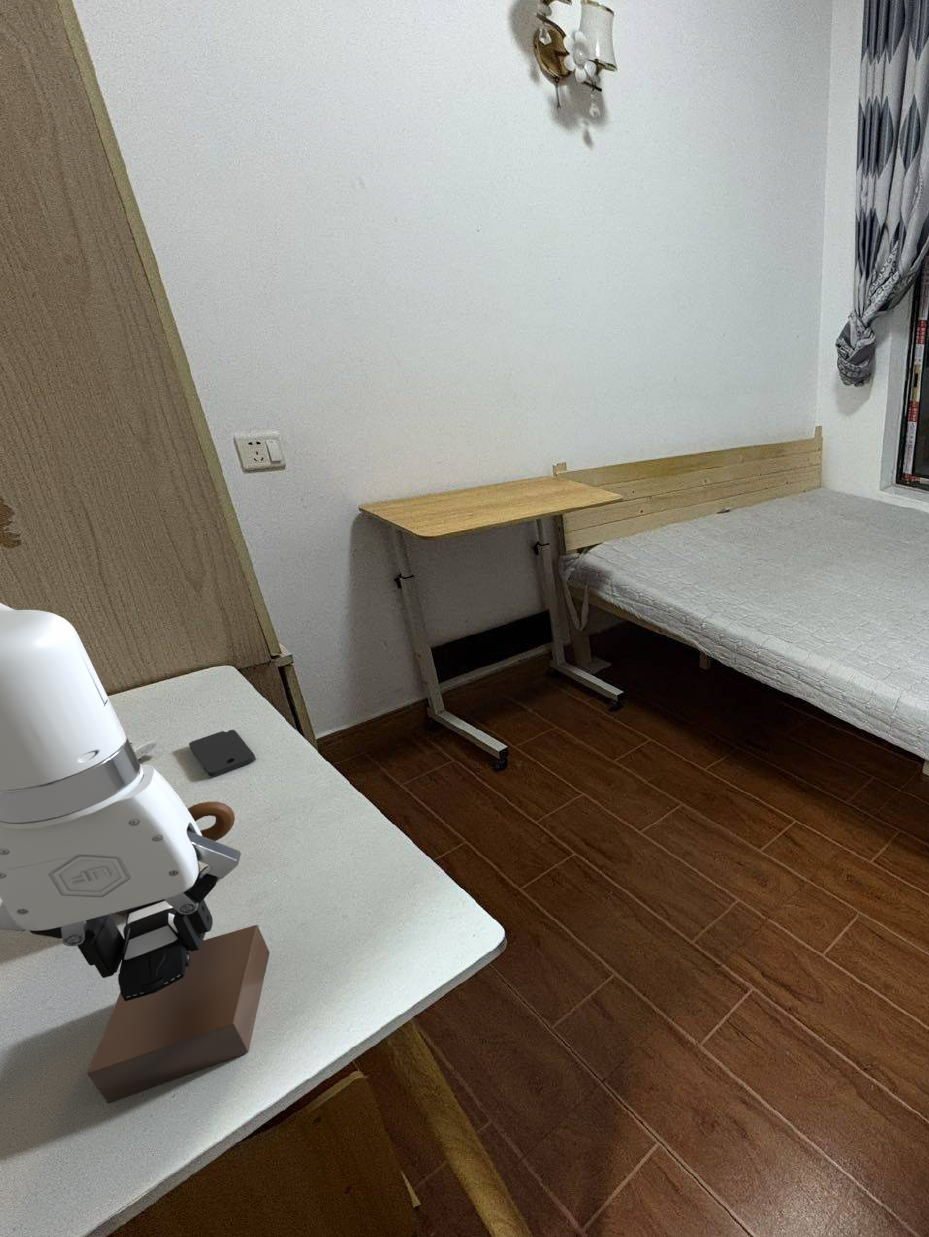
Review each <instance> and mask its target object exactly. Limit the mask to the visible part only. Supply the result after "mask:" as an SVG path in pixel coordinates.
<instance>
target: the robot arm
mask: <svg viewBox="0 0 929 1237" xmlns="http://www.w3.org/2000/svg"><path fill="white" fill-rule="evenodd" d="M115 711H116V710H115V709H114V707H113V705H112V703H111V700H110V699H109V696H108V694H107V693H106V690H105V688H104V687H103V684H102V682H101V680H100V677H99V676H98V673H97V671H96V670H95V667H94V665H93V663H92V661H91V659H90V656H89V655H88V653H87V650H86V648H85V646H84V644H83V642H82V640H81V637H80V635H79V634H78V632H77V631H76V629H75V627H74V626H73V624H71V623H70V622H69V620H67V619H66V618H64V617H62V616H60V615H59V614H55V613H53V612H51V611H50V612H49V611H45V610H40V609H39V610H38V609H15V608H12V607H10V606H8V605H6V604H3V603H2V602H0V899H1V901H2V902H1V904H0V930H1V931H15V932H25V931H29V932H30V934H32V935H37V936H42V937H49V938H55V939H61V941H62V944H63V945H64V946H67V947H76V946H77V948H78V949H79V951H80V953H81V954H82V957H83V958H84V959H85V961H86V963H87V964H88V965H89V966H90V967H91V966H95V969H96V970H97V972H98V973H99V975H100V976H101V978H102V979H105V978H109V977H112V976H114V975H115V974H116V973H118V970H119V969H120V966H121V962H122V958H117V956H118V955H121V954H123V946H124V935H122V933H121V931H120V929H119V928H118V925H117V924H116V922H115V920H114V919H113V917H112V916H111V914H116V913H115V912H119V911H123V910H126V909H130V908H134V907H138V906H141V905H145V904H149V903H152V902H156V901H160V900H163V899H164V900H165V901H166V902H167V903H168V904H169V905H170V906H172V907H173V908H174V909H175V910H176V913H175V916H174V918H173V923H174V925H175V927H176V929H177V931H178V933H179V935H180V937H181V939H182V941H183V943H184V945H185V946H186V948H187V950H188V951H191V952H193V951H196V950H200V949H201V946H202V943H203V940H205V937H206V933H209V932H211V930H212V927H213V925H214V924H213V923H214V921H213V916H212V914H211V911H210V909H209V907H208V905H207V903H206V901H205V898H206V897H207V896H208V895H209V894H210V893H211V891H212V890H213V889H214V888H215V887H216V886H217V883H218V882H220V881H221V880H223V879H224V878H225V877H227V875H229V874H230V873H231V872H232V871H234V870H235V869H236V868H237V867H238V866H239V864H240V860H241V856H242V853H241V851H240V850H238V849H236V848H232V847H231V846H229V845H226V844H223V843H220V842H218V841H213V840H210V839H208V838H206V837H203V836H202V834H201V832H200V831H201V830H200V828H199V826H198V824H197V823H196V821H194V819H193V817H192V816H191V814H190V812H189V811H188V808H187V806H186V805H185V803H184V802H183V799H181V797H180V796H179V795H178V793H177V792H176V791H175V789H174V788H173V786H171V784H170V783H169V781H167V780H166V779H165V778H164V776H162V774H160V772H159V771H158V770H156V769H155V768H154V767H153V765H152V764H141V762H140V760H139V758H138V757H137V754H136V753H135V751H134V750H135V749H134V748H133V747H132V744H131V742H130V740H129V738H128V736H127V734H126V732H125V730H124V728H123V725H122V724H121V722H120V720H119V718H118V715H117V713H116V712H115ZM198 862H201V863H203V864H205V865H207V866H205V867H203V868H202V869H200V873H199V874H198V872H199V869H198Z"/></svg>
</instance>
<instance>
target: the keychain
mask: <svg viewBox="0 0 929 1237" xmlns="http://www.w3.org/2000/svg"><path fill="white" fill-rule="evenodd" d="M188 746H189V748H190V751H191V752H192V753H193V755H194V756H195V757H196V759H197V760H198V762H199V763H200V764H201V766H202V767H203V769H204V771H205V772H206V773H207V775H208V776H209V777H211V778H212V777H217V776H219V775H223V774H225V773H228V772H231V771H234V770H236V769H238V768H241V767H243V766H246V765H249V764H251V763H253V762H256V761H257V757H256V755H255V753H254V752H253V751H252V750H251V749H250V747H249V746H248V744H246V742H245V741H244V740H243V738H242V737H241V736H240V734H238V732H237V731H236V730H235V729H229V730H227V731H224V730H222V731H218V732H216V733H212V734H210V735H207V736H204V737H201V738H198V739H195V740H192V741H190V742H189V743H188Z"/></svg>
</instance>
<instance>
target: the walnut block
mask: <svg viewBox="0 0 929 1237" xmlns="http://www.w3.org/2000/svg"><path fill="white" fill-rule="evenodd" d="M188 953H189V955H190V960H191V965H190V966H187V967H185V974H184V977H183V978H182V979H180V980H178V981H176V982H175V983H173V984H171V985H169V986H167V987H165V988H163V989H161V990H159V991H158V992H156V993H153V994H149V995H146V996H143V997H139V998H136V999H133V1000H129V1001H124V999H123V997H122V995H121V992H119V995H118V997H117V999H116V1002H115V1004H114V1007H113V1009H112V1012H111V1014H110V1017H109V1019H108V1021H107V1024H106V1026H105V1029H104V1031H103V1034H102V1036H101V1039H100V1041H99V1043H98V1046H97V1049H96V1051H95V1052H94V1056H93V1058H92V1060H91V1064H90V1066H89V1068H88V1070H87V1073H86V1074H87V1076H88V1078H90V1080H91V1082H92V1083H93V1084H94V1086H95V1087H96V1089H97V1091H98V1092H99V1093H100V1094H101V1096H102V1097H103V1099H104V1100H105V1102H106V1103H107V1104H109V1103H112V1102H115V1101H118V1100H120V1099H123V1098H126V1097H129V1096H131V1095H134V1094H137V1093H140V1092H143V1091H145V1090H149V1089H151V1088H154V1087H157V1086H159V1085H163V1084H165V1083H167V1082H170V1081H173V1080H176V1079H179V1078H181V1077H184V1076H187V1075H189V1074H192V1073H195V1072H198V1071H202V1070H204V1069H206V1068H210V1067H212V1066H215V1065H217V1064H221V1063H223V1062H226V1061H229V1060H231V1059H234V1058H237V1057H240V1056H242V1055H246V1054H248V1053H249V1052H250V1048H251V1047H250V1046H251V1042H252V1037H253V1032H254V1028H255V1022H256V1017H257V1014H258V1008H259V1004H260V1000H261V994H262V990H263V985H264V980H265V975H266V972H267V971H266V970H267V966H268V961H269V957H270V950H269V948H268V945H267V943H266V941H265V939H264V936H263V934H262V932H261V930H260V927H259V925H258V924H255V925H251V926H248V927H244V928H240V929H238V930H237V929H236V930H234V931H230V932H226V933H224V934H220V935H217V936H214V937H209V938H206V939H204V940H203V943H202V946H201V949H200V950H196V951H193V952H191V951H188Z"/></svg>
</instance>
